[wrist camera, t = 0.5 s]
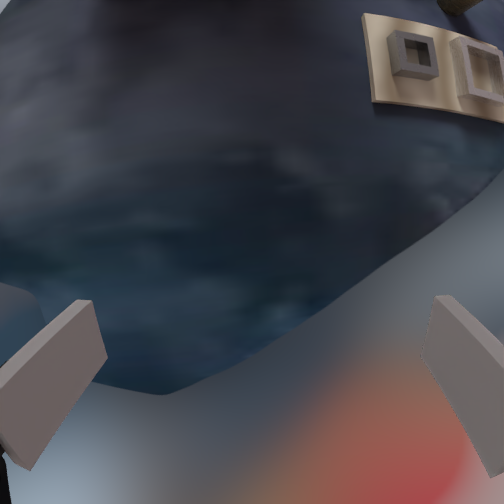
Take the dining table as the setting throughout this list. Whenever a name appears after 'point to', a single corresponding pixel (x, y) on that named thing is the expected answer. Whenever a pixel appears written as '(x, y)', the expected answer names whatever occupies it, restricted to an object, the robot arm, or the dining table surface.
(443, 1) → the brass cylinder
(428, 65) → the fitting board
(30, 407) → the robot arm
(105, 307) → the dining table surface
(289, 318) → the dining table surface
